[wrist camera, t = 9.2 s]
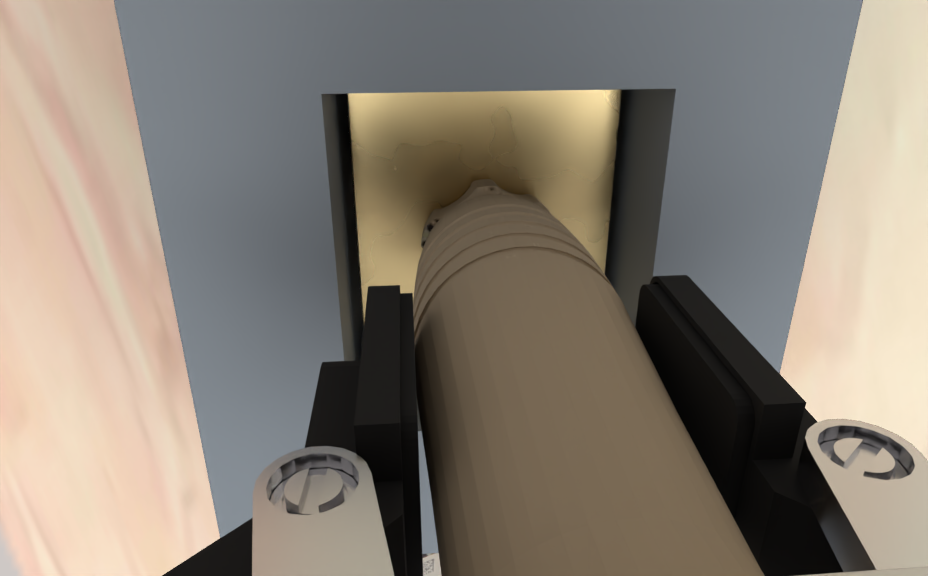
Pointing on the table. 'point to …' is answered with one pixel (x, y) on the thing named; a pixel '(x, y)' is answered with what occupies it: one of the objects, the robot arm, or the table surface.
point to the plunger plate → (476, 165)
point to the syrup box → (431, 564)
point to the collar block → (458, 70)
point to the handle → (550, 411)
